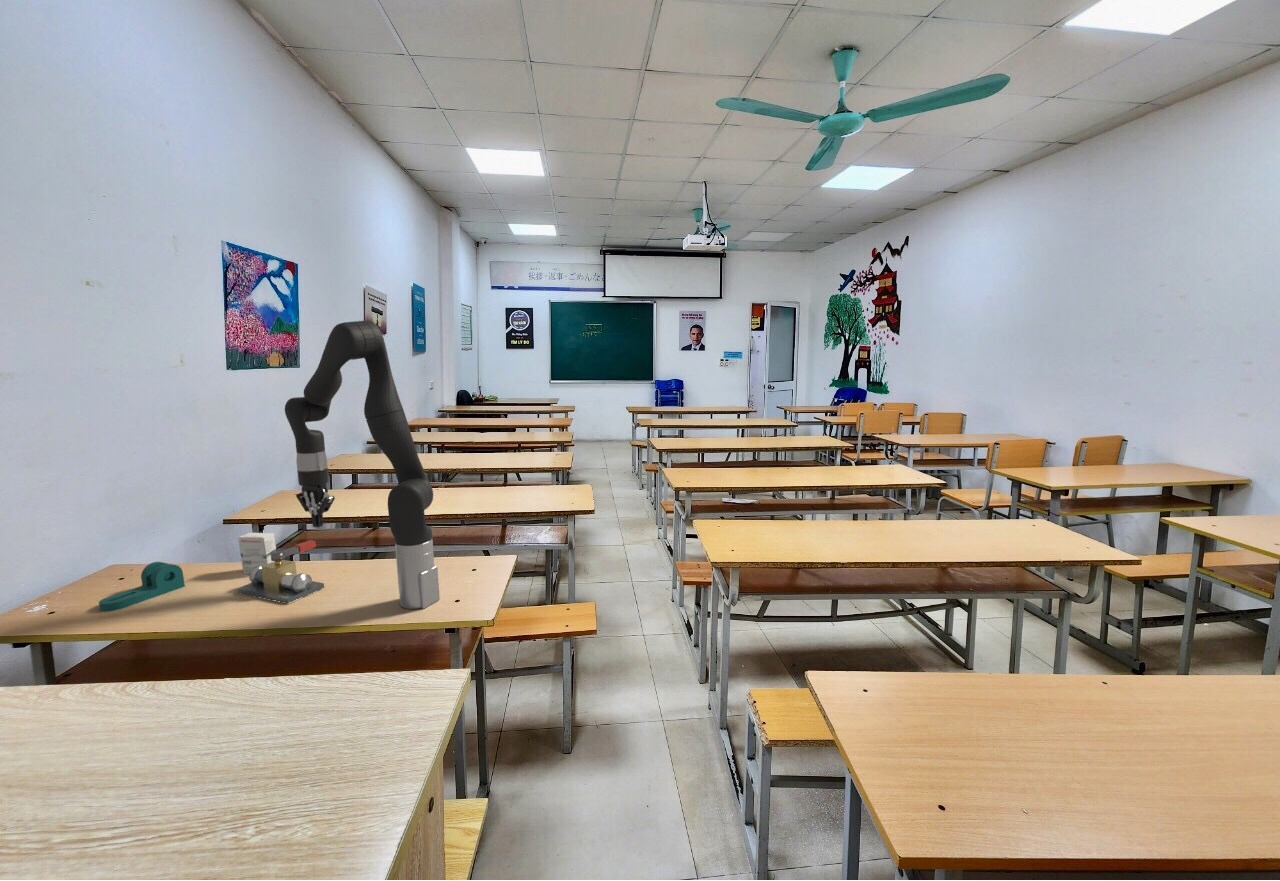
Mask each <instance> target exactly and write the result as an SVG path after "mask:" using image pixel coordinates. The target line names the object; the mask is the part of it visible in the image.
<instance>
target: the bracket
mask: <svg viewBox="0 0 1280 881" xmlns="http://www.w3.org/2000/svg"><path fill="white" fill-rule="evenodd" d="M140 580H141V585H140V586H137V587H133V588H131V589H128V590H125V591H122V592H118V593H116V594H112V595H110V596H107V597H104V598H102V599H100V600H99V601H98V605H99V606H98V607H99V611H100V612H103V613H104V612H115V611H118V610H123V609H125V608H129V607H131V606H134V605H137V604H140V603H143V602H145V601H148V600H151V599H154V598H156V597H159V596H163V595H166V594H167V593H168V594H169V593H171V592H173V591H174V592H175V591H176V590H180V589H182V588H184V587H186V584H185V578H184V572H183V569H182V567H180V566H179V565H177V564H173V563H168V562H167V563H166V562H162V561H153V562H151V563H148V564H147V565H146V566H145V567H144V568H143V570H142V572H141V575H140Z"/></svg>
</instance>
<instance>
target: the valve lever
mask: <svg viewBox="0 0 1280 881" xmlns="http://www.w3.org/2000/svg"><path fill="white" fill-rule="evenodd" d="M316 547H317V544H316V540H311V539H309V540H306V541H302V542H300V543H297V544H294V546H292V547H289V548H286V549H284V550H276V552H272V553H271V561H279V560H285V559H286V557H288V556H292V555H294V554H297V553H303V552H305V551H308V550H311V549H315V548H316Z"/></svg>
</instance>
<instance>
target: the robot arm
mask: <svg viewBox="0 0 1280 881" xmlns="http://www.w3.org/2000/svg"><path fill="white" fill-rule="evenodd" d="M361 359H364V361H365V363H366V367H367V371H368V378H369V381H368V387H367V390H366V391H367V392H366V396H365V401H364V404H363V405H364V408H363V414H364V418H365V420H366V423H367V426H368V428H369V429H368V430H369V432H370V435H371V437H372V439H373V441H374V442H375V443H376V445H377V446H378V448H379V449H380V450H381V452H382V453H383V454H384V455H385V456H386V458H387V459H388V460H389V462H390V464H391V466H392V468H393V470H394V473H395V476H396V480H397V485H395V486H394V487H393V488H391V490H390V491H389V493H388V496H387V511H388V512H387V513H388V518H389V519H388V520H389V526H390V531H391V532H390V533H391V534H392V536H393V537H394V546H395V547H394V548H395V560H396V571H397V585H398V595H399V606H400V607H402V608H403V609H407V610H408V609H411V610H415V609H426V608H428V607H430V606H431V605H432V604H434V603H436V602H438V601H440V600H441V599H440V598H441V596H440V584H439V583H440V582H439V569H438V566H437V565H435V556H434V545H433V544H434V543H433V542H434V541H433V532H432V531H433V530H432V528H431V527H430V526H428V525H427V523H426V516H425V511H426V510H427V509H428V508H429V507H430V506H431V504H432V502H433V500H434V491H433V487H432V485H431V482H430V480H429V478H428V475H427V474H426V472H425V469H424V467H423V465H422V462H421V459H420V457H419V454H418V451H417V449H416V446H415V442H414V438H413V435H412V433H411V430H410V427H409V422H408V420H407V417H406V414H405V410H404V408H403V405H402V402H401V399H400V396H399V393H398V390H397V386H396V383H395V380H394V377H393V373H392V369H391V365H390V358H389V355H388V351H387V347H386V342H385V339H384V335H383V333H382V330H381V329H380V327H379V326H378V325H377V324H376V323H375V322H373V321H371V320H358V321H346V322H340V323H337V324H336V325H334V327H333V328H332V330H331V331H330V333H329V336H328V338H327V341H326V344H325V346H324V349H323V352H322V354H321V358H320V359H319V363H318V365H317V368H316V369H315V372H314V373H313V375H311V377H310V379H309V380H308V382H307V383H306V385H305V386H304V389H303V396H299V397H291V398H289V399H288V400H287V401H286V403H285V405H284V414H285V418H286V420H287V422H288V423H289V425H290V429H291V431H292V433H293V436H294V440H295V450H296V461H295V462H296V470H297V473H296V474H297V481H298V485H299V486H300V487H301V492H300V493H296V494H295V495H296V498H297V500H298V502H299V504H300V505H301V507H302V508H303V510H304V511H305V512H307V513H309V515H310V516H311V525H312V527H313V528H320V527H323V526H324V513H327V512H329V511H330V508H331V507H332V504H333V503H334V501H335V499H336V498H335V497H336V496H334V495H330V494H329V493H328V492H329V490H328V487H327V485H328V483H329V481H330V478H329V467H328V458H327V454H326V447H325V446H326V444H325V436H324V433H323V431H322V430H318V429H309V428H308V426H307V424H306V423H311V422H319V421H323V420H324V419H325V418H327V417H328V415H329V412H330V407H331V405H332V404H331V403H332V400H333V398H334V397H335V396H336V394H337V393H338V392H339V390H340V388H341V386H342V383H343V375H342V371H341V368H342V367H343V366H344V365H345V364H346V363H347V362H349V361H351V360H352V361H354V360H361Z"/></svg>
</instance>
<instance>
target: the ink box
mask: <svg viewBox="0 0 1280 881" xmlns="http://www.w3.org/2000/svg"><path fill="white" fill-rule="evenodd" d="M238 546H239V553H240V560H241V566H242V573H243V574H247V575H248V574H250V572H251V570H252V569H253V568H254V567H256V566H259V565H262V566H263V565H266V564H269V563H272V562H274V561H271V553H272V552H276V551H277V545H276V539H275V533H274V532H247V533H245V534H243V535H240V536H239V537H238Z"/></svg>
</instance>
